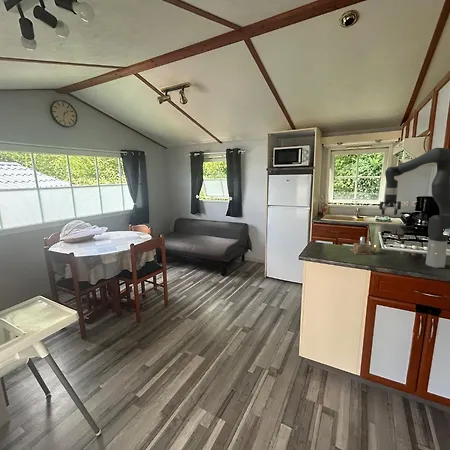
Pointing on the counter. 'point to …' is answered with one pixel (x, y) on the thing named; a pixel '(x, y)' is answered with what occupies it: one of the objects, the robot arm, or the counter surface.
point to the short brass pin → (376, 248)
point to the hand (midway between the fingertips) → (389, 214)
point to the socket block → (361, 249)
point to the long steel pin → (362, 241)
